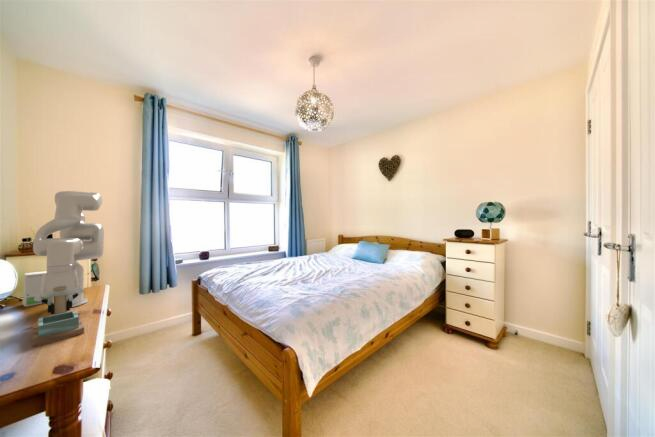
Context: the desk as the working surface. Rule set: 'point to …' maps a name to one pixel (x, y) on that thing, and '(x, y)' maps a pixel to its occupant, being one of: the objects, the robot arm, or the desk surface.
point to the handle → (60, 302)
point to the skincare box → (32, 287)
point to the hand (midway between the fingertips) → (60, 311)
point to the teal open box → (57, 327)
